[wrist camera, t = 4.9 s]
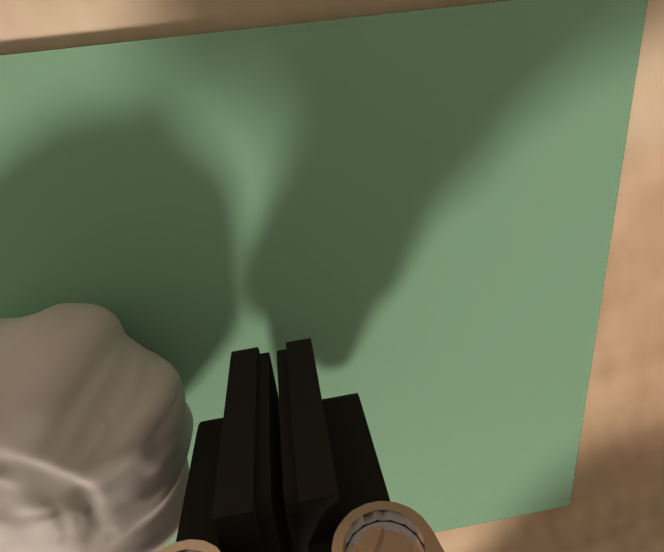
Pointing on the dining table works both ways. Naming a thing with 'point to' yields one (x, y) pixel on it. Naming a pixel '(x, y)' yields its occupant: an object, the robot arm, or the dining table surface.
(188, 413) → the garlic
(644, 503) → the dining table surface
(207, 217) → the felt mat
